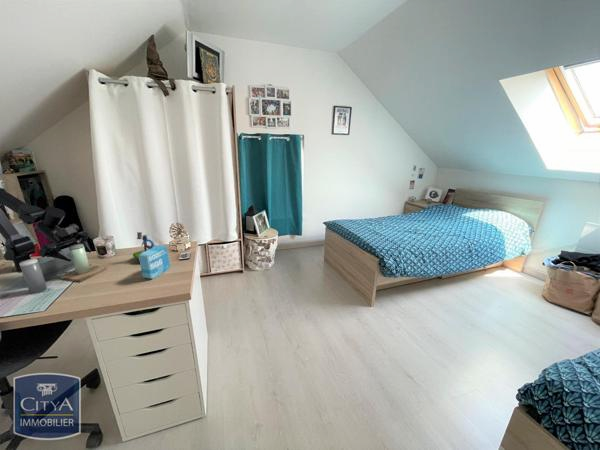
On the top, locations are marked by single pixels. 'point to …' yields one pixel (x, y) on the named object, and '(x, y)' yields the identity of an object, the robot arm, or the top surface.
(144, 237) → the pirate figurine
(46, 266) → the slate unit
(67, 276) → the walnut plate
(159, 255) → the data package
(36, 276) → the grey cylinder
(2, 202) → the robot arm
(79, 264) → the sage canister
